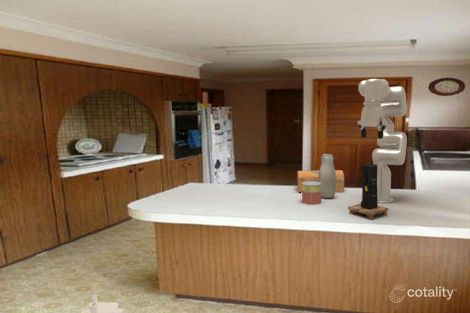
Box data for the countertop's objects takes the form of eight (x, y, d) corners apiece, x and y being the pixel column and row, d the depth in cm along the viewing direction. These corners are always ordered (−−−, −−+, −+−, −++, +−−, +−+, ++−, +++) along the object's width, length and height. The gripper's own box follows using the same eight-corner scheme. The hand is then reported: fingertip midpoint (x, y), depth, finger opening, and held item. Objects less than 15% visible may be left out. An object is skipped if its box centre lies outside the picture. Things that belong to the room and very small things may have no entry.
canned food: (314, 199, 207) (314, 180, 205) (324, 204, 196) (325, 184, 195) (298, 201, 204) (298, 182, 202) (308, 206, 193) (307, 186, 191)
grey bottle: (330, 195, 215) (330, 152, 211) (338, 199, 205) (338, 154, 201) (316, 196, 213) (316, 153, 209) (323, 200, 203) (323, 155, 199)
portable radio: (369, 210, 170) (370, 162, 166) (359, 207, 175) (359, 160, 171) (378, 207, 174) (379, 160, 170) (368, 205, 179) (369, 159, 176)
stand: (348, 213, 177) (348, 206, 177) (365, 208, 185) (365, 202, 184) (371, 220, 165) (371, 213, 165) (388, 214, 173) (388, 208, 172)
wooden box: (340, 187, 236) (340, 168, 234) (344, 193, 220) (344, 172, 218) (297, 187, 240) (297, 168, 238) (298, 193, 224) (298, 173, 222)
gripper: (353, 104, 173) (353, 137, 175) (383, 103, 158) (382, 139, 161) (362, 104, 177) (362, 136, 179) (392, 103, 162) (391, 138, 164)
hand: (371, 138), depth 170 cm, fingers open, 9 cm apart
